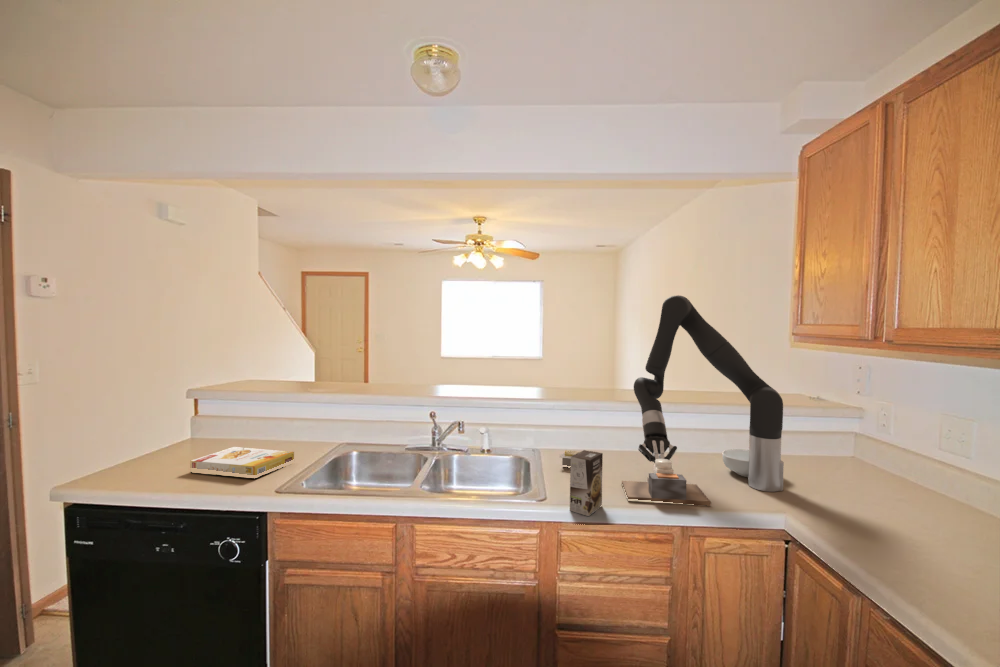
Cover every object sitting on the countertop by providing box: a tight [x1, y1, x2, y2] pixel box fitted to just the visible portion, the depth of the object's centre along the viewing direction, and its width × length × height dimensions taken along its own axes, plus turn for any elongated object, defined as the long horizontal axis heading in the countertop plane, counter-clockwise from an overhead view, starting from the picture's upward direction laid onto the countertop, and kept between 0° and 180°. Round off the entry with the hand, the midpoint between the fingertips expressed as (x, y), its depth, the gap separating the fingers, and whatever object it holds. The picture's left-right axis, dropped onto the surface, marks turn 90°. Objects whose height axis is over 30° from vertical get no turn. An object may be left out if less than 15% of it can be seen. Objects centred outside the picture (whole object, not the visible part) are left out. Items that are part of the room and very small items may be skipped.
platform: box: [559, 449, 578, 466], centre depth 170 cm, size 12×18×7 cm, turn 71°
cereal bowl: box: [721, 448, 749, 478], centre depth 164 cm, size 17×17×7 cm
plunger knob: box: [653, 459, 674, 474], centre depth 144 cm, size 5×5×9 cm
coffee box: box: [569, 449, 604, 517], centre depth 133 cm, size 9×6×16 cm
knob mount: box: [621, 472, 712, 507], centre depth 144 cm, size 24×14×8 cm, turn 83°
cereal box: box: [189, 446, 295, 475], centre depth 168 cm, size 20×6×28 cm
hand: (661, 472), depth 147 cm, fingers closed
